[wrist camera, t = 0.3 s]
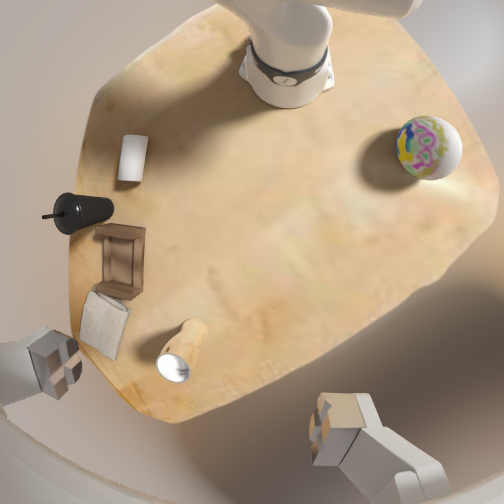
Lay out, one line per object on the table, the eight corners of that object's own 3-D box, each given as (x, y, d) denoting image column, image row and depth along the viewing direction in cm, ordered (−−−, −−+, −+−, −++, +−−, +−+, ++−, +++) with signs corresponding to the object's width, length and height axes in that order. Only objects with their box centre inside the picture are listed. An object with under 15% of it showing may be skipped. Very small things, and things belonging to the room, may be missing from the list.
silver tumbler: (216, 336, 59) (199, 376, 44) (192, 349, 60) (171, 388, 45) (197, 311, 58) (175, 346, 43) (173, 325, 59) (147, 360, 45)
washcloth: (133, 305, 60) (127, 310, 57) (118, 359, 64) (113, 365, 61) (94, 281, 60) (87, 285, 57) (83, 336, 64) (77, 341, 60)
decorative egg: (386, 119, 47) (419, 98, 32) (435, 128, 46) (475, 114, 31) (389, 177, 49) (425, 173, 35) (437, 183, 48) (480, 183, 34)
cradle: (110, 223, 56) (95, 226, 50) (145, 227, 55) (132, 231, 50) (109, 283, 59) (95, 291, 53) (143, 291, 58) (130, 300, 52)
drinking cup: (120, 192, 54) (58, 194, 35) (118, 227, 56) (57, 243, 36) (93, 190, 55) (30, 193, 35) (91, 224, 56) (30, 238, 37)
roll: (131, 138, 52) (119, 134, 47) (152, 138, 52) (141, 134, 47) (125, 180, 54) (112, 179, 49) (146, 182, 54) (135, 181, 49)
